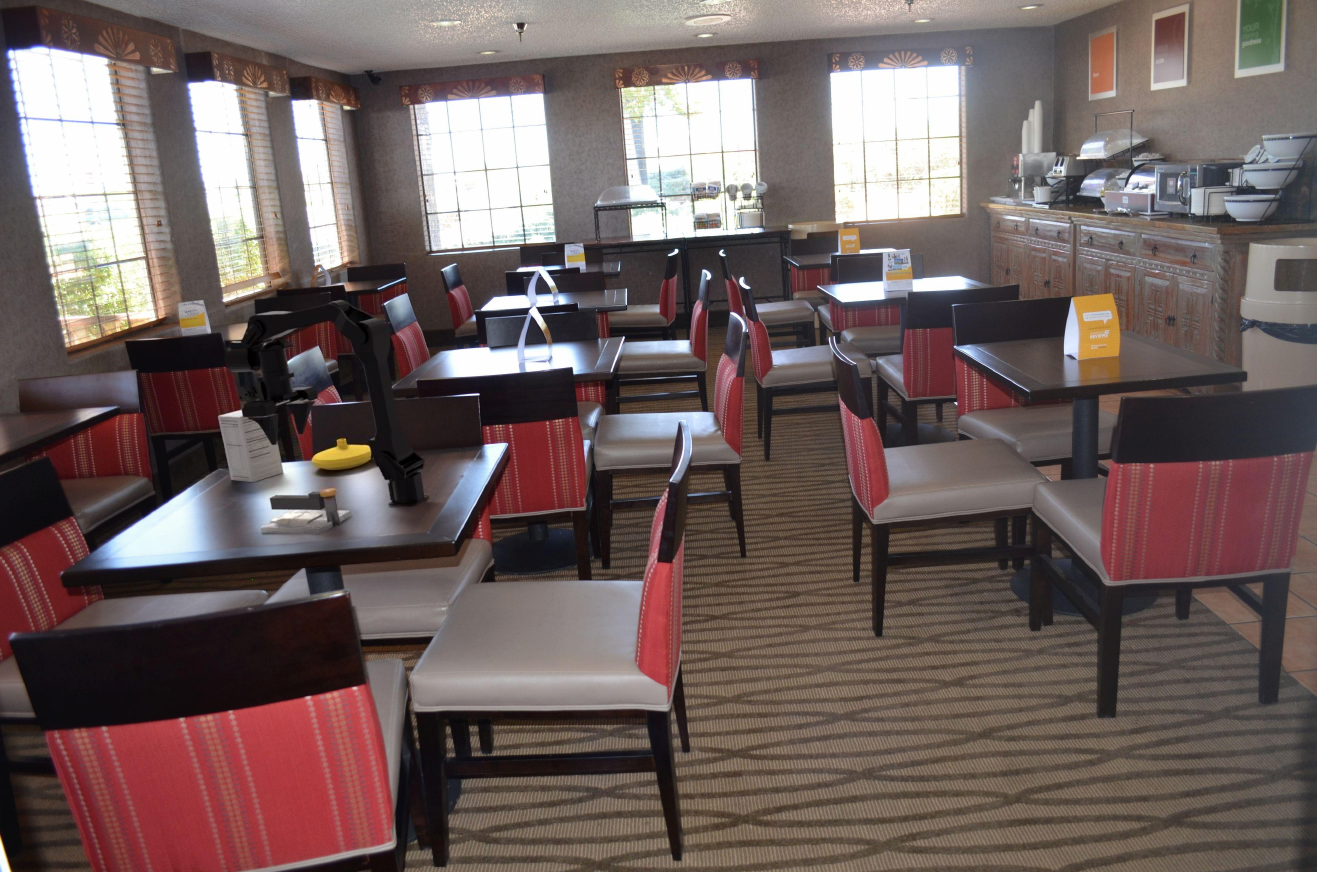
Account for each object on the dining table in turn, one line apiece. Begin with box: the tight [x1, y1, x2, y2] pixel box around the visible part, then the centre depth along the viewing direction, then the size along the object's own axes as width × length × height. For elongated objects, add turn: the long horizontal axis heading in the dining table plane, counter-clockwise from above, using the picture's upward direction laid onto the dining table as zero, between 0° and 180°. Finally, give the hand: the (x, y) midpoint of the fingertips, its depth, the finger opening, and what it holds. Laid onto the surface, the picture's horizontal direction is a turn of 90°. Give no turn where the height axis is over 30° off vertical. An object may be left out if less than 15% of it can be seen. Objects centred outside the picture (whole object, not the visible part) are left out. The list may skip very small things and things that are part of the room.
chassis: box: [260, 494, 353, 535], centre depth 197 cm, size 15×11×6 cm
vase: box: [311, 438, 372, 471], centre depth 244 cm, size 16×16×7 cm
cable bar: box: [269, 487, 338, 511], centre depth 196 cm, size 15×3×4 cm, turn 73°
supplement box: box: [217, 409, 284, 483], centre depth 240 cm, size 10×9×17 cm
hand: (287, 439), depth 212 cm, fingers open, 9 cm apart
